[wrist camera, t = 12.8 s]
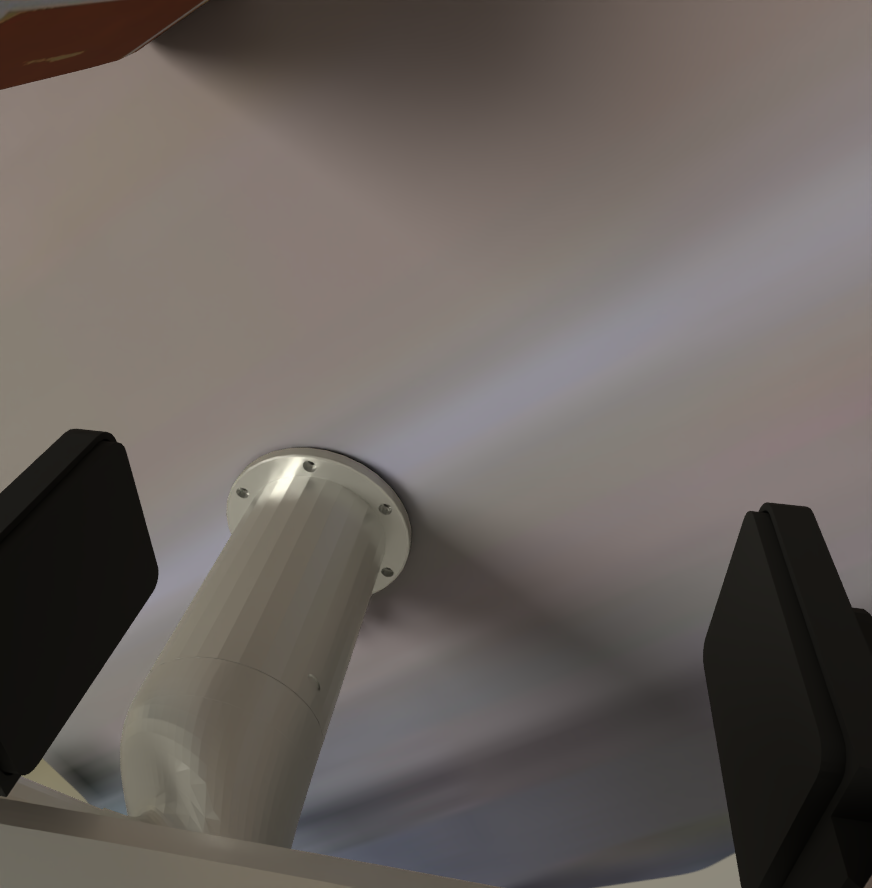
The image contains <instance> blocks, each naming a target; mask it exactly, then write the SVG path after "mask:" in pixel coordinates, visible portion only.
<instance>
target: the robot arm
mask: <svg viewBox="0 0 872 888" xmlns="http://www.w3.org/2000/svg"><path fill="white" fill-rule="evenodd" d="M226 515H227V521H228V526H229V530H230V532H231V534H232V535H231V537H230V538H229V540H228V542H227V543H226V545H225V547H224V548H223V550H222V552H221V553H220V555H219V557H218V558H217V560H216V562H215V563H214V565H213V567H212V568H211V570H210V572H209V573H208V575H207V577H206V578H205V580H204V582H203V583H202V585H201V587H200V588H199V590H198V592H197V593H196V595H195V597H194V598H193V600H192V602H191V603H190V605H189V607H188V608H187V610H186V612H185V613H184V615H183V617H182V618H181V620H180V622H179V623H178V625H177V627H176V628H175V630H174V632H173V633H172V635H171V637H170V638H169V640H168V642H167V643H166V645H165V647H164V648H163V650H162V652H161V653H160V655H159V657H158V659H157V660H156V662H155V663H154V665H153V667H152V669H151V670H150V672H149V674H148V676H147V677H146V679H145V680H144V682H143V684H142V685H141V687H140V689H139V690H138V692H137V694H136V696H135V697H134V699H133V701H132V703H131V705H130V708H129V711H128V713H127V716H126V719H125V722H124V726H123V731H122V737H121V743H120V767H121V776H122V785H123V791H124V797H125V803H126V808H127V814H128V816H126V815H123V814H120V813H117V812H114V811H112V810H109V809H106V808H103V810H102V809H100V808H97V807H95V806H92V805H90V804H87V803H85V802H83V801H80V800H78V799H75V798H73V797H70V796H68V795H65V794H63V793H61V792H58V791H56V790H53V789H51V788H48V787H46V786H43V785H41V784H39V783H36V782H34V781H31V780H29V779H26V778H24V777H21V775H26V774H29V773H30V772H31V771H33V770H34V768H35V767H36V766H37V765H38V764H39V762H40V760H41V759H42V758H43V756H44V755H45V753H46V752H47V750H48V749H49V747H50V746H51V744H52V743H53V741H54V740H55V738H56V737H57V735H58V734H59V732H60V731H61V729H62V728H63V726H64V725H65V723H66V722H67V720H68V719H69V717H70V716H71V714H72V713H73V711H74V710H75V708H76V707H77V705H78V704H79V702H80V701H81V699H82V698H83V696H84V695H85V693H86V692H87V690H88V689H89V687H90V686H91V684H92V683H93V681H94V680H95V678H96V677H97V675H98V674H99V672H100V671H101V669H102V668H103V666H104V665H105V663H106V662H107V660H108V659H109V657H110V656H111V654H112V653H113V651H114V650H115V648H116V647H117V645H118V644H119V642H120V641H121V639H122V638H123V636H124V635H125V633H126V632H127V630H128V629H129V627H130V626H131V624H132V623H133V621H134V620H135V618H136V617H137V615H138V614H139V612H140V611H141V609H142V608H143V606H144V605H145V603H146V602H147V600H148V599H149V597H150V596H151V594H152V593H153V591H154V589H155V587H156V584H157V580H158V566H157V562H156V558H155V555H154V551H153V547H152V544H151V540H150V536H149V533H148V529H147V526H146V522H145V518H144V515H143V511H142V507H141V504H140V500H139V496H138V493H137V489H136V485H135V482H134V478H133V475H132V471H131V467H130V464H129V460H128V456H127V453H126V450H125V447H124V446H123V445H122V444H121V443H118V442H117V441H116V439H115V437H114V436H113V435H112V434H110V433H108V432H102V431H92V430H83V429H70V430H69V431H67V432H65V433H64V434H63V435H62V436H61V437H60V438H59V439H58V440H57V441H56V442H55V443H54V444H52V445H51V446H50V447H49V448H48V449H47V450H46V451H45V452H44V453H43V454H42V455H41V456H40V457H39V458H38V459H36V460H35V461H34V462H33V463H32V464H31V465H30V466H29V467H28V468H27V469H26V470H25V471H24V472H23V473H21V474H20V475H19V476H18V477H17V478H16V479H15V480H14V481H13V482H12V483H11V484H10V485H9V486H8V487H7V488H5V489H4V490H3V491H2V492H1V493H0V888H502V887H496V886H491V885H485V884H480V883H475V882H469V881H464V880H458V879H453V878H447V877H442V876H437V875H431V874H426V873H420V872H415V871H409V870H404V869H399V868H393V867H388V866H382V865H377V864H371V863H366V862H360V861H355V860H349V859H344V858H338V857H332V856H327V855H321V854H316V853H310V852H305V851H299V850H293V849H291V847H292V844H293V840H294V836H295V832H296V828H297V825H298V821H299V818H300V814H301V811H302V808H303V804H304V801H305V798H306V794H307V791H308V788H309V785H310V782H311V778H312V775H313V772H314V769H315V766H316V763H317V760H318V757H319V754H320V751H321V747H322V745H323V742H324V739H325V735H326V732H327V729H328V726H329V723H330V720H331V717H332V714H333V711H334V708H335V705H336V702H337V699H338V696H339V693H340V689H341V686H342V683H343V680H344V677H345V674H346V671H347V668H348V665H349V662H350V659H351V656H352V653H353V650H354V646H355V643H356V640H357V637H358V634H359V631H360V628H361V625H362V622H363V619H364V616H365V613H366V610H367V607H368V604H369V600H370V597H371V595H372V594H374V593H376V592H378V591H380V590H382V589H384V588H386V587H387V586H388V585H389V584H391V583H392V582H393V581H394V580H395V579H396V578H397V577H398V575H399V574H400V573H401V571H402V570H403V568H404V566H405V563H406V561H407V558H408V555H409V551H410V546H411V525H410V521H409V517H408V514H407V512H406V510H405V508H404V506H403V504H402V502H401V500H400V499H399V497H398V496H397V495H396V493H395V492H394V491H393V489H392V488H391V487H390V486H389V485H388V484H387V483H386V482H385V481H384V480H383V479H382V478H381V477H379V476H378V475H377V474H376V473H374V472H373V471H371V470H370V469H368V468H367V467H365V466H364V465H363V464H361V463H359V462H356V461H354V460H352V459H350V458H348V457H346V456H343V455H340V454H337V453H334V452H330V451H327V450H321V449H314V448H288V449H283V450H278V451H273V452H271V453H268V454H266V455H264V456H261V457H259V458H258V459H256V460H255V461H253V462H252V463H251V464H249V465H248V466H247V467H246V468H245V469H244V471H243V472H242V473H241V474H240V475H239V477H238V478H237V480H236V481H235V483H234V484H233V486H232V488H231V491H230V494H229V497H228V500H227V513H226ZM703 663H704V670H705V676H706V682H707V688H708V694H709V700H710V706H711V711H712V717H713V723H714V729H715V735H716V741H717V747H718V753H719V759H720V764H721V770H722V776H723V782H724V788H725V794H726V800H727V806H728V812H729V818H730V823H731V829H732V835H733V841H734V847H735V853H736V859H737V865H738V871H739V876H740V882H741V887H742V888H872V616H871V615H870V614H869V613H868V612H867V611H866V610H864V609H859V608H852V607H851V604H850V602H849V599H848V597H847V594H846V592H845V589H844V587H843V585H842V582H841V580H840V577H839V575H838V572H837V570H836V567H835V565H834V563H833V560H832V558H831V555H830V553H829V550H828V548H827V545H826V543H825V541H824V538H823V536H822V533H821V531H820V528H819V526H818V523H817V521H816V519H815V516H814V514H813V512H812V510H811V509H810V508H808V507H805V506H795V505H786V504H777V503H764V504H763V505H762V506H761V508H760V510H759V512H754V511H749V512H747V514H746V515H745V517H744V520H743V523H742V526H741V529H740V533H739V536H738V539H737V542H736V545H735V548H734V551H733V554H732V557H731V560H730V564H729V567H728V570H727V573H726V576H725V579H724V582H723V585H722V588H721V592H720V595H719V598H718V601H717V604H716V607H715V610H714V613H713V616H712V620H711V623H710V626H709V629H708V632H707V635H706V638H705V642H704V649H703Z"/></svg>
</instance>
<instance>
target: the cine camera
mask: <svg viewBox="0 0 872 888" xmlns="http://www.w3.org/2000/svg"><path fill="white" fill-rule="evenodd" d="M208 1H209V0H0V90H2V89H6V88H10V87H14V86H18V85H22V84H26V83H30V82H34V81H38V80H43V79H47V78H51V77H55V76H59V75H63V74H67V73H71V72H75V71H79V70H83V69H88V68H91V67H95V66H99V65H102V64H106V63H110V62H113V61H117V60H120V59H122V58H124V57H126V56H128V55H130V54H132V53H134V52H137V51H138V50H139V49H141V48H142V47H144V46H145V45H146V44H148V43H149V42H151V41H152V40H154V39H155V38H156V37H158V36H159V35H161V34H162V33H164V32H165V31H166V30H168V29H169V28H171V27H172V26H173V25H175V24H176V23H178V22H179V21H181V20H182V19H183V18H185V17H186V16H188V15H189V14H191V13H192V12H193V11H195V10H196V9H198V8H199V7H200V6H202V5H203V4H205V3H206V2H208Z"/></svg>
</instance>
